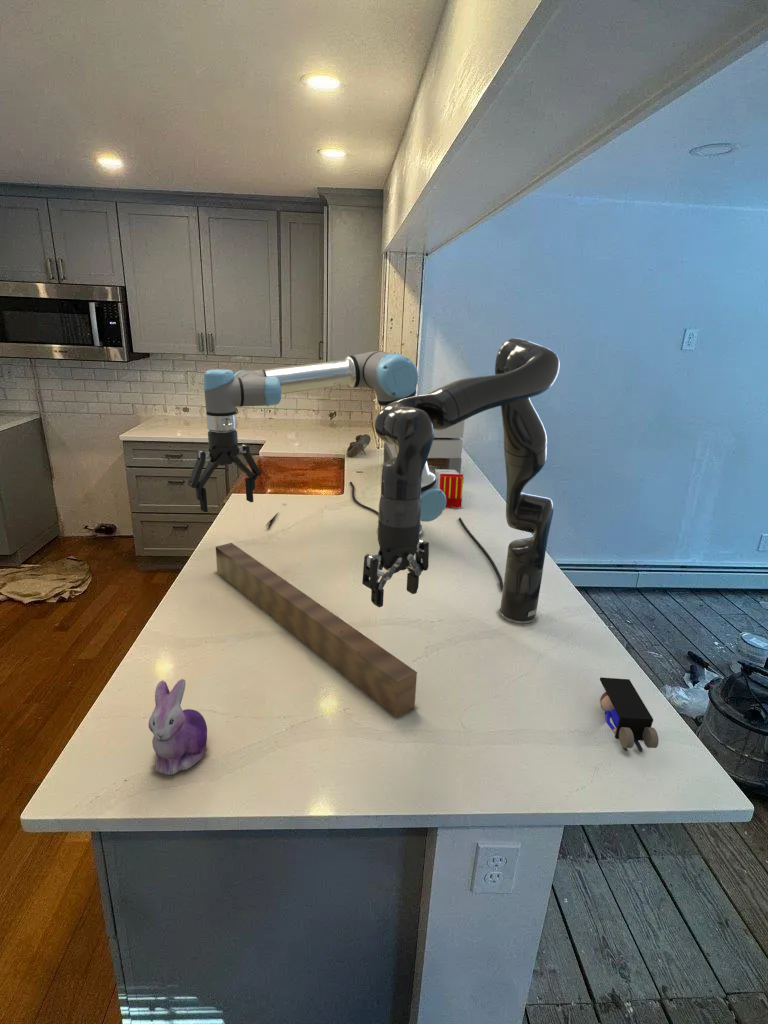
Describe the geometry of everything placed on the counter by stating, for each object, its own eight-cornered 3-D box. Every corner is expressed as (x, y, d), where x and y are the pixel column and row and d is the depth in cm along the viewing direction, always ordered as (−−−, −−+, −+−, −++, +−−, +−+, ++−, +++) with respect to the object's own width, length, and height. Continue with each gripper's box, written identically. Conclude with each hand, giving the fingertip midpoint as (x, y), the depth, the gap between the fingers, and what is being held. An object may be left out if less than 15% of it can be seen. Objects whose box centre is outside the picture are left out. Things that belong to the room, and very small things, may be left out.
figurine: (156, 786, 92) (147, 710, 87) (149, 745, 100) (140, 673, 95) (215, 767, 96) (210, 694, 91) (204, 729, 105) (198, 660, 100)
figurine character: (654, 765, 103) (622, 703, 116) (665, 735, 100) (631, 675, 113) (618, 764, 103) (590, 702, 116) (628, 734, 99) (598, 674, 113)
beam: (217, 572, 165) (215, 546, 163) (232, 568, 169) (231, 542, 166) (396, 717, 110) (398, 681, 107) (414, 707, 113) (417, 672, 110)
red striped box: (455, 465, 253) (467, 475, 224) (454, 495, 256) (465, 508, 227) (428, 465, 253) (437, 474, 224) (427, 494, 256) (435, 507, 226)
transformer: (382, 463, 289) (386, 382, 275) (445, 464, 293) (451, 384, 279) (390, 482, 257) (394, 392, 243) (460, 483, 261) (468, 394, 247)
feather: (285, 507, 224) (287, 503, 224) (267, 531, 198) (270, 526, 197) (281, 504, 224) (284, 500, 223) (263, 528, 197) (265, 524, 197)
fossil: (346, 440, 316) (367, 425, 311) (357, 453, 319) (378, 438, 314) (340, 453, 296) (362, 438, 291) (351, 468, 299) (374, 452, 294)
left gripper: (181, 438, 139) (189, 519, 147) (271, 427, 155) (274, 500, 162) (170, 432, 145) (178, 511, 152) (257, 422, 160) (261, 493, 167)
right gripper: (382, 533, 94) (379, 619, 99) (442, 516, 103) (436, 595, 108) (354, 520, 99) (352, 601, 105) (414, 504, 108) (409, 581, 114)
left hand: (227, 505), depth 157 cm, fingers open, 13 cm apart
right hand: (395, 598), depth 107 cm, fingers open, 8 cm apart
